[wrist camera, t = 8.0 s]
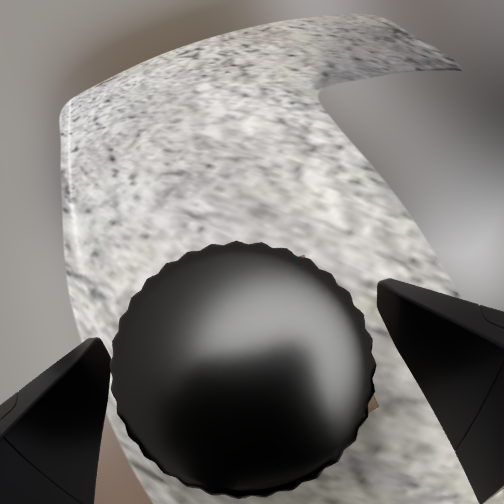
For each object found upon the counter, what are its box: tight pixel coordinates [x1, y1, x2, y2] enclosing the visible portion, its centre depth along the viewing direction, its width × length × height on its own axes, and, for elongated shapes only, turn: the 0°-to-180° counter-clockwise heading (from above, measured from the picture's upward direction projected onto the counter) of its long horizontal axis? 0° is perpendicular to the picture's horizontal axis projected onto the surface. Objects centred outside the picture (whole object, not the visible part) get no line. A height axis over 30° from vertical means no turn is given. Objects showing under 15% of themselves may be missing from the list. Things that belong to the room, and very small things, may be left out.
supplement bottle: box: [109, 241, 376, 499], centre depth 10 cm, size 7×7×12 cm
